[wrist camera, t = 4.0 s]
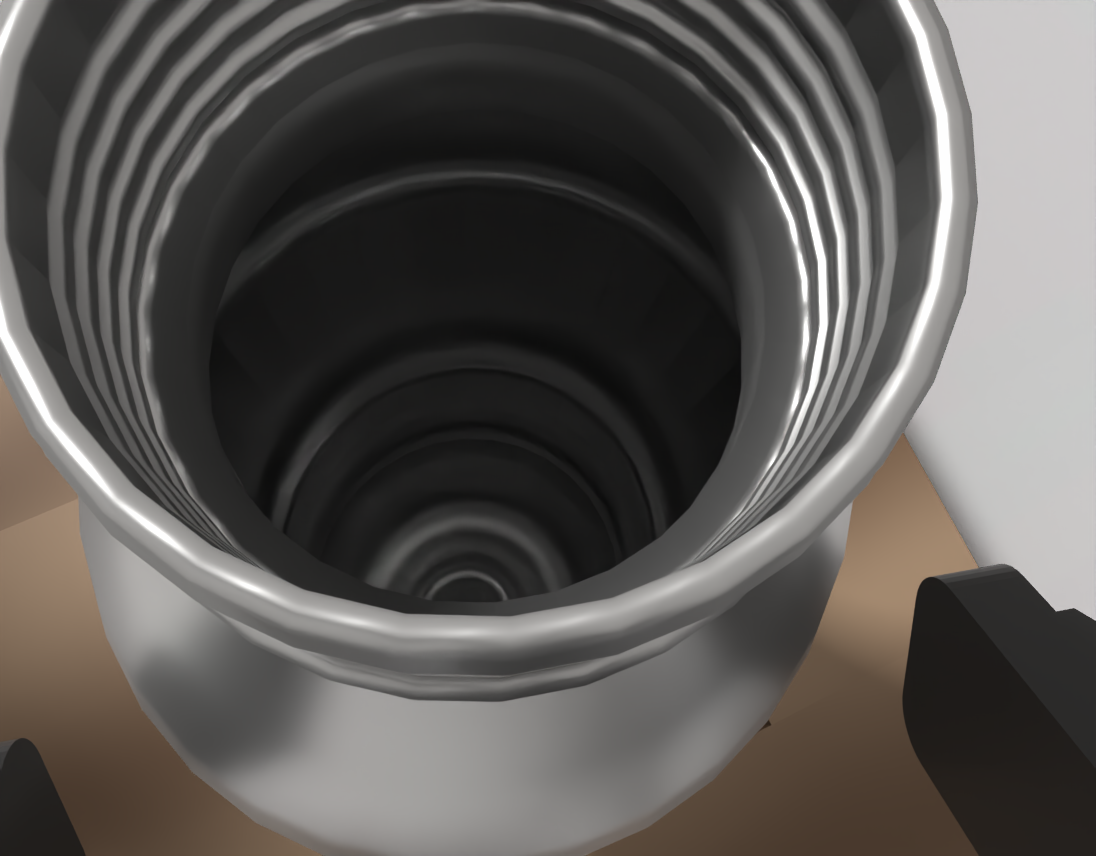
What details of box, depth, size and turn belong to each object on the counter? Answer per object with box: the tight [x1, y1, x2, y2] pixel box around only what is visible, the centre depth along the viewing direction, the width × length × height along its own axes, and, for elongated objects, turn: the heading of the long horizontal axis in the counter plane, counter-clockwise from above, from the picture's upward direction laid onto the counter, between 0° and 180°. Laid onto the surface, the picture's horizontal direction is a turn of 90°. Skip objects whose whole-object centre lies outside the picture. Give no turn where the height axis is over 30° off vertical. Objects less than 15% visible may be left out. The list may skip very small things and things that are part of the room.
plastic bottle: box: [0, 0, 978, 856], centre depth 13 cm, size 6×7×20 cm
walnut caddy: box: [0, 374, 979, 856], centre depth 20 cm, size 18×17×5 cm
